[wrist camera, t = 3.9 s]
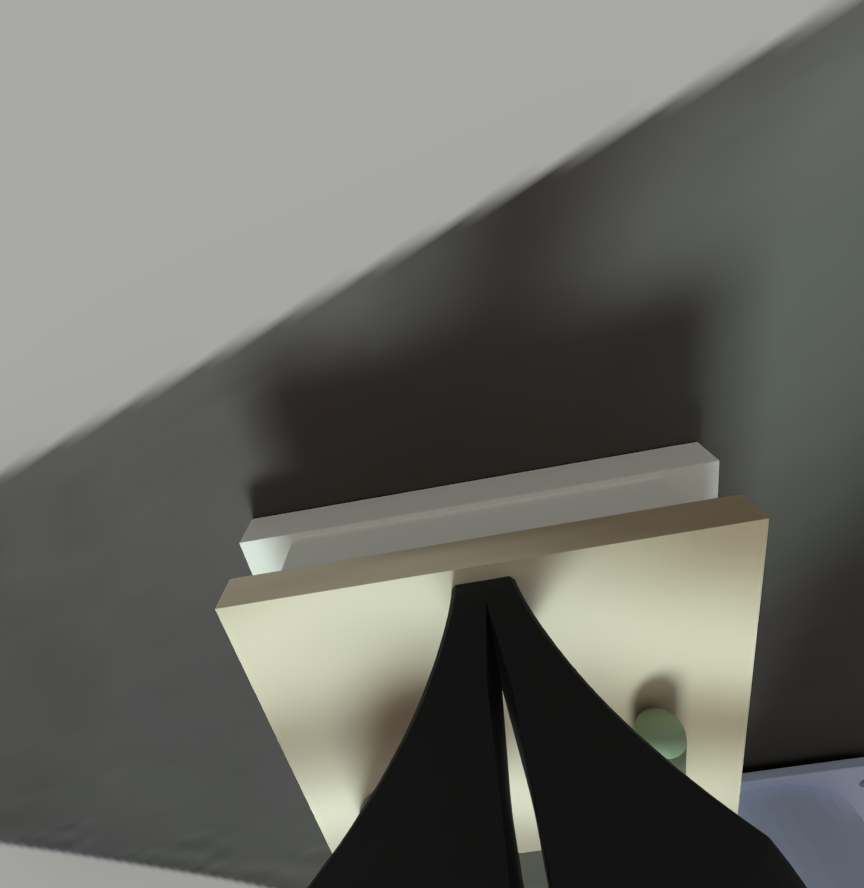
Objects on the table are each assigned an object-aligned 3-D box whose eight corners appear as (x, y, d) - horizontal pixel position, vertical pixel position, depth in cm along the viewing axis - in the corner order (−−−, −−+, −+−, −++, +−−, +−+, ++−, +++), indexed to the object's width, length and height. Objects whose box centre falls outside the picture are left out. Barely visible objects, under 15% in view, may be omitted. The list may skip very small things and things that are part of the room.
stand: (690, 719, 19) (728, 794, 17) (349, 768, 20) (339, 845, 18) (697, 441, 15) (752, 489, 12) (252, 519, 15) (220, 578, 13)
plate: (718, 797, 17) (830, 1023, 12) (350, 847, 17) (325, 1076, 13) (742, 493, 12) (943, 679, 7) (229, 578, 12) (122, 795, 8)
